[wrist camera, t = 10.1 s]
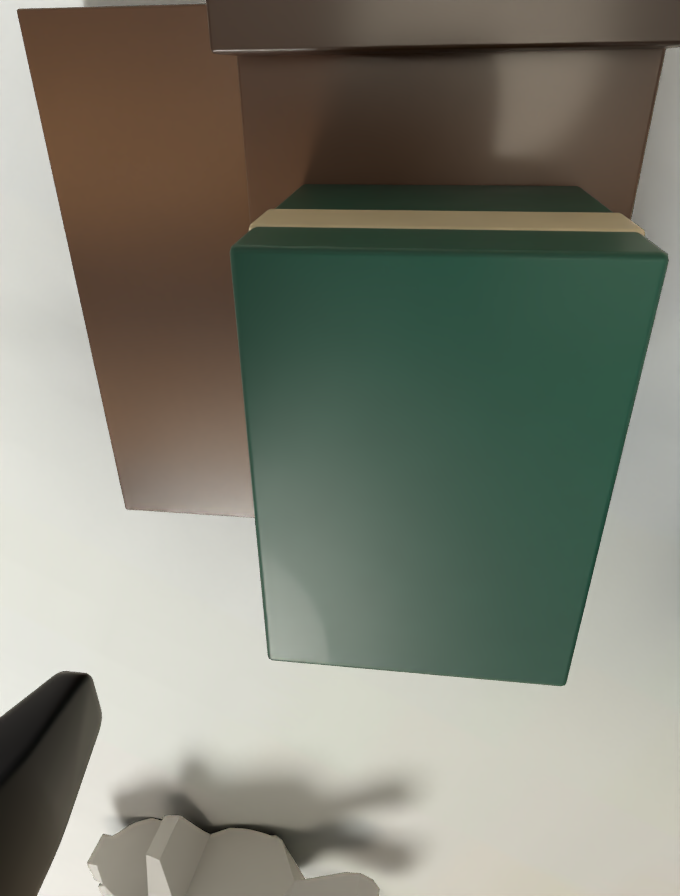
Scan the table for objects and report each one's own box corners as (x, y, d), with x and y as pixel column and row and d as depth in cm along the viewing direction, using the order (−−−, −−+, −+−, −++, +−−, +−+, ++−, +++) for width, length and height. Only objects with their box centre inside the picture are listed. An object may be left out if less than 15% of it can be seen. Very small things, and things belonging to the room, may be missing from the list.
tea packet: (528, 511, 15) (568, 690, 11) (311, 498, 15) (265, 663, 11) (583, 183, 11) (676, 251, 7) (299, 181, 12) (224, 243, 8)
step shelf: (522, 480, 21) (561, 656, 15) (159, 460, 23) (52, 613, 16) (596, 5, 15) (722, -46, 8) (81, 18, 16) (-149, -17, 10)
